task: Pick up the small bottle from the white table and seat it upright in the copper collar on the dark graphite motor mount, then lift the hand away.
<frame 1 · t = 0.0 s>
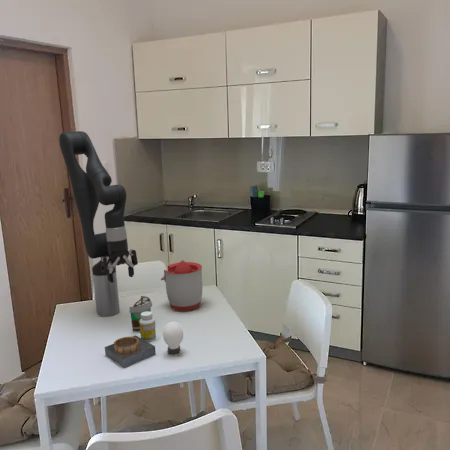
hand: (121, 279, 180), 17 cm above the table, tool pointing down, fingers open, 8 cm apart
motor mount: (130, 355, 156), on the table
supplement bottle: (148, 339, 168), on the table
light bulb: (174, 353, 156), on the table
food container: (145, 326, 178), on the table
citrus juicer: (183, 306, 196), on the table
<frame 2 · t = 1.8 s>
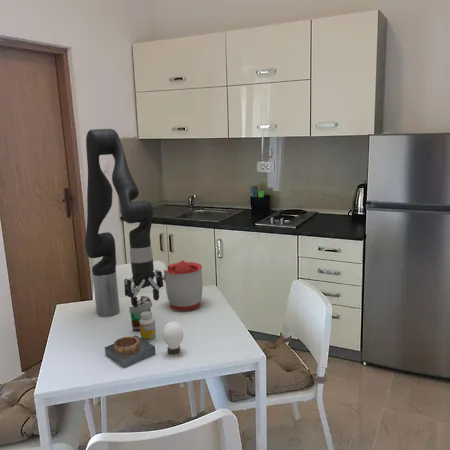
hand: (145, 303, 165), 13 cm above the table, tool pointing down, fingers open, 8 cm apart
nothing on the table moved.
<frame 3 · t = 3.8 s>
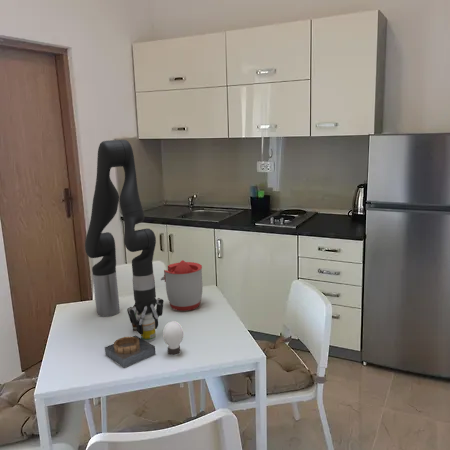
hand: (147, 330, 167), 3 cm above the table, tool pointing down, fingers closed on supplement bottle, 5 cm apart
supplement bottle: (148, 339, 168), on the table, touching gripper
everything else where it was.
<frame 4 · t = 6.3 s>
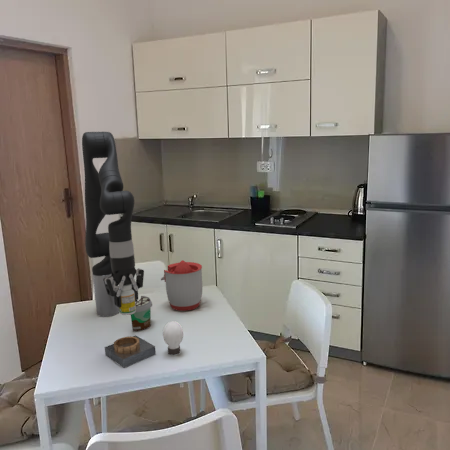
hand: (126, 303, 153), 18 cm above the table, tool pointing down, fingers closed on supplement bottle, 5 cm apart
supplement bottle: (127, 313, 153), point 15 cm above the table, touching gripper
everything else where it was.
when the fingers open (7 cm above the table, at t = 9.2 s): supplement bottle drops 1 cm, resting on motor mount.
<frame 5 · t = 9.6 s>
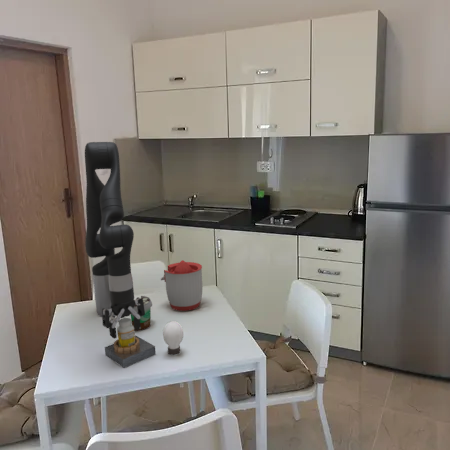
hand: (125, 333, 154), 8 cm above the table, tool pointing down, fingers open, 8 cm apart
supplement bottle: (127, 347, 155), point 3 cm above the table, touching motor mount
everything else where it was.
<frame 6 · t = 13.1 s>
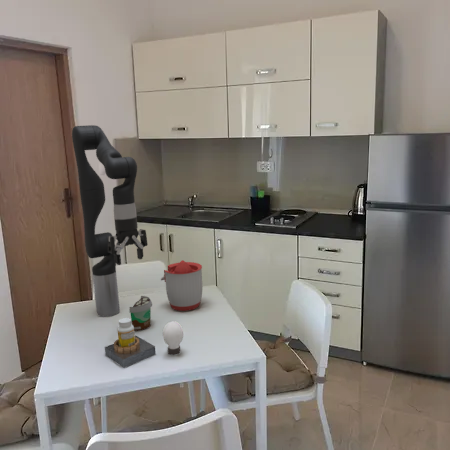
hand: (129, 261, 164), 28 cm above the table, tool pointing down, fingers open, 8 cm apart
nothing on the table moved.
at the end: supplement bottle 0.2 cm off-centre on the motor mount, point 2.8 cm above the motor mount's base; supplement bottle tilted 0°; the gripper is holding nothing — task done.
